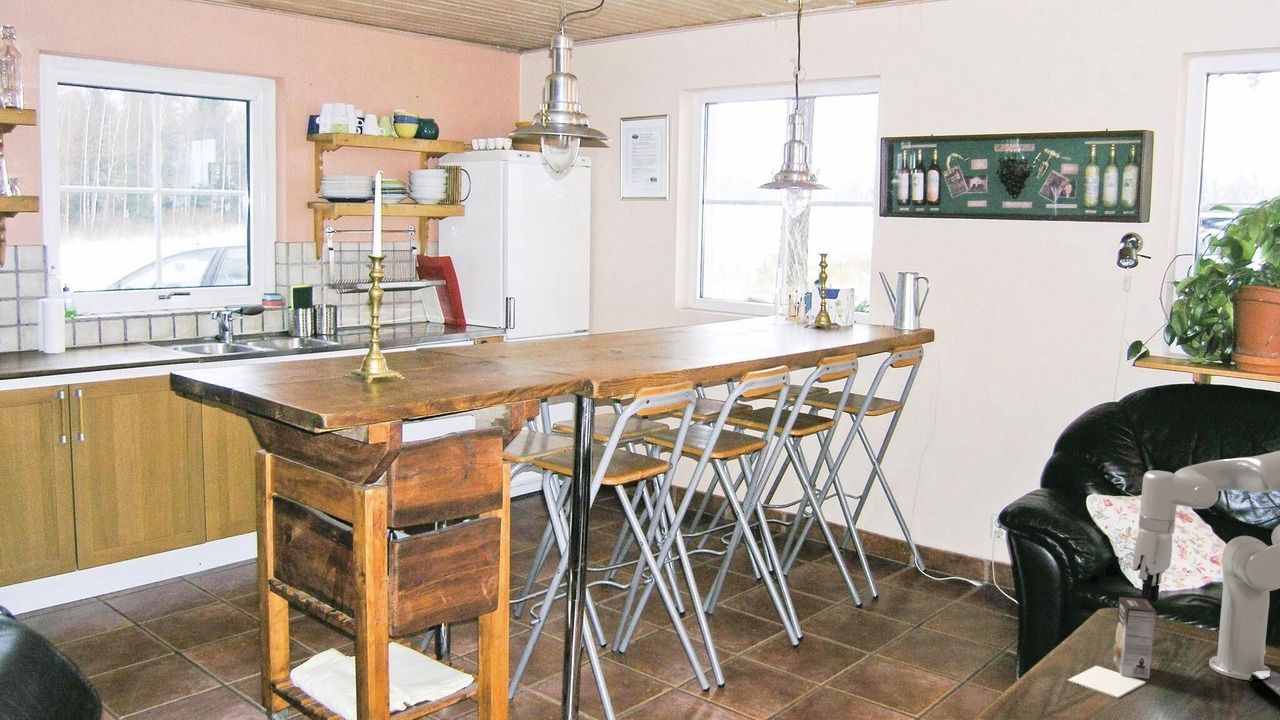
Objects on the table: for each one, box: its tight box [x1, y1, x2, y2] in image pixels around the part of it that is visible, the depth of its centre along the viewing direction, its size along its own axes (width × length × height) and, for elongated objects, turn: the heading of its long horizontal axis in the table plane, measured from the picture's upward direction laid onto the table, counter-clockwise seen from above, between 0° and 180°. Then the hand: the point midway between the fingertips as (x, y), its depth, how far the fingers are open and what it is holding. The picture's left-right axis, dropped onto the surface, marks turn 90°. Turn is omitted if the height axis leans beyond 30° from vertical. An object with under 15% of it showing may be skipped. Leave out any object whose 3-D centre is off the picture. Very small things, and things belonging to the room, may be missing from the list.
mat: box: [1067, 665, 1147, 699], centre depth 246 cm, size 13×12×1 cm
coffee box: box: [1113, 596, 1157, 679], centre depth 252 cm, size 9×6×16 cm
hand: (1149, 600), depth 256 cm, fingers closed
